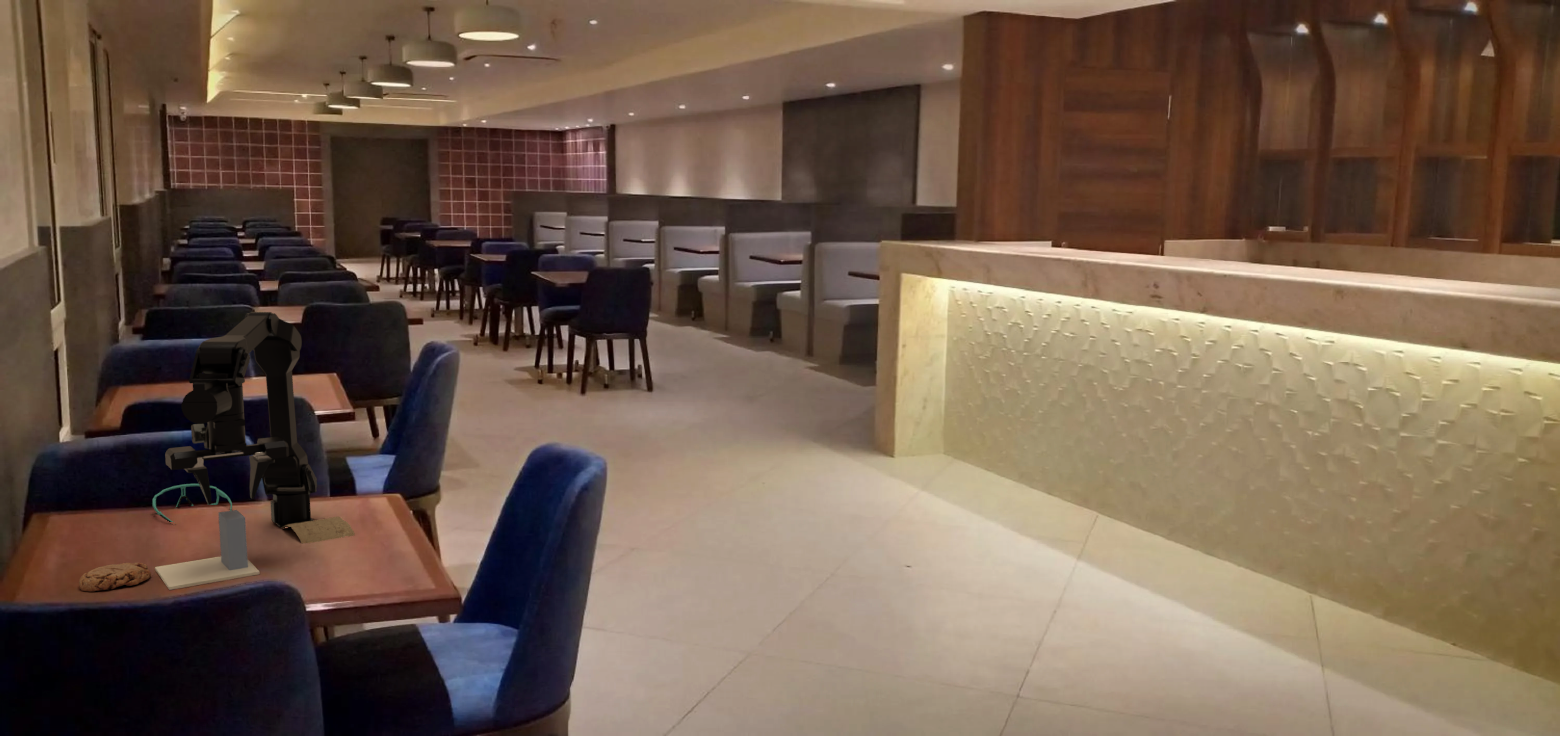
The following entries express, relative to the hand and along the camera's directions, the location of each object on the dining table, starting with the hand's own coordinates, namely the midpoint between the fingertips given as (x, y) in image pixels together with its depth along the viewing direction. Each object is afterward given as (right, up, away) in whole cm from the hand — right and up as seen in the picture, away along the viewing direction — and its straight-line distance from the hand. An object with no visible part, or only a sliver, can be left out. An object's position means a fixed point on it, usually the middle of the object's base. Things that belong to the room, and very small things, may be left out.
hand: (231, 500), depth 200 cm
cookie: (-16, -13, -7) cm, 22 cm away
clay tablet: (+6, -10, +24) cm, 26 cm away
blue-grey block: (0, -11, +2) cm, 12 cm away
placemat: (-4, -12, -1) cm, 13 cm away
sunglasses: (-25, -7, +36) cm, 45 cm away
